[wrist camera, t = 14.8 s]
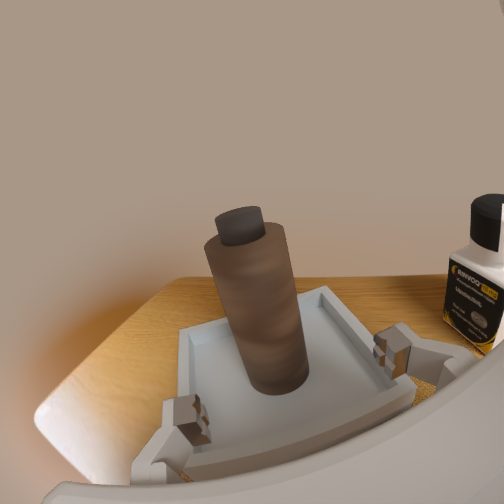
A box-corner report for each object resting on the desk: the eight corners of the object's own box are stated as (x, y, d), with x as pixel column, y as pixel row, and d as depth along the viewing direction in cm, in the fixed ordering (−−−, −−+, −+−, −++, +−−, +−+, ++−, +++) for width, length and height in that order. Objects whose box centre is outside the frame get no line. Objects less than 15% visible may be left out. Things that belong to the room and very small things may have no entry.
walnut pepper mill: (298, 345, 24) (266, 196, 19) (318, 382, 20) (290, 210, 15) (244, 362, 24) (196, 216, 19) (256, 403, 19) (197, 237, 14)
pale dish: (328, 304, 30) (326, 285, 29) (411, 406, 15) (417, 386, 15) (187, 347, 29) (179, 329, 28) (194, 481, 14) (179, 468, 13)
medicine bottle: (440, 319, 22) (448, 197, 18) (480, 293, 23) (490, 184, 19) (487, 359, 16) (519, 221, 11) (524, 323, 16) (549, 202, 12)
